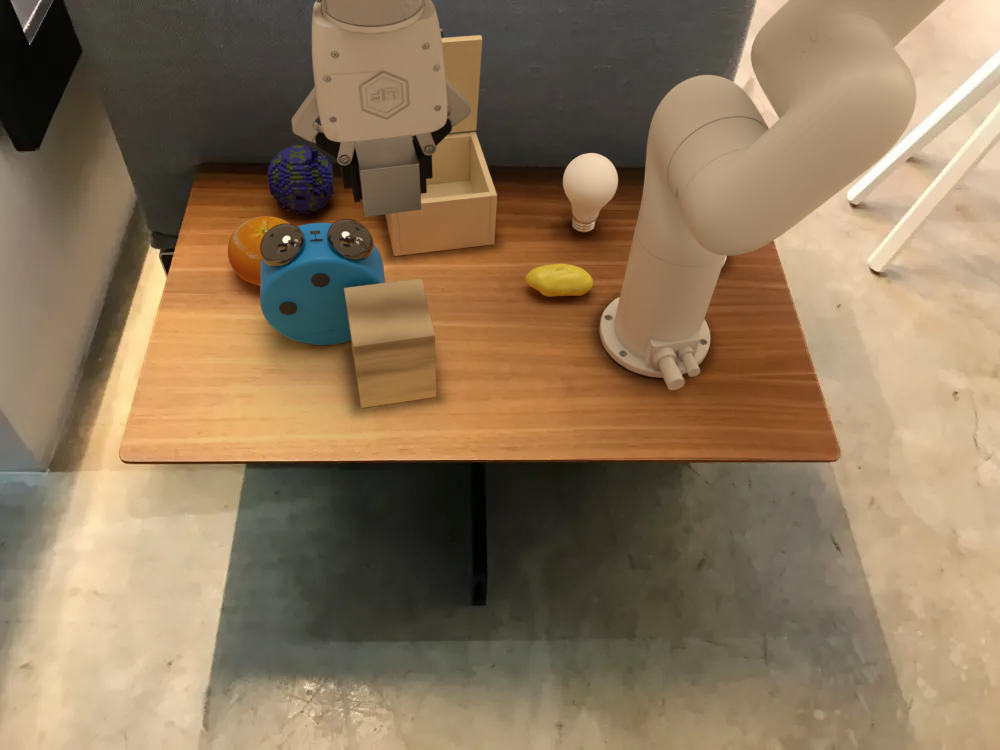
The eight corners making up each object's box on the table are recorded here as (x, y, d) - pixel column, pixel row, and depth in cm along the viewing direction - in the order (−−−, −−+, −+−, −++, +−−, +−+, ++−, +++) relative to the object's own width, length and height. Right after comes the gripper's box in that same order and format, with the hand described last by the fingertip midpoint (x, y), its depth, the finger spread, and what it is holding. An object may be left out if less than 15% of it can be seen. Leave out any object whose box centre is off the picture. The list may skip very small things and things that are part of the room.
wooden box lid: (482, 39, 96) (473, 11, 99) (370, 47, 94) (364, 19, 96) (476, 130, 107) (468, 103, 110) (376, 140, 105) (370, 112, 108)
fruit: (317, 274, 97) (278, 212, 93) (251, 309, 97) (210, 250, 94) (317, 253, 104) (281, 195, 101) (256, 286, 105) (218, 230, 101)
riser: (436, 397, 91) (435, 335, 83) (361, 408, 90) (352, 346, 82) (423, 341, 96) (421, 278, 88) (352, 351, 95) (343, 287, 87)
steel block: (421, 209, 75) (419, 163, 72) (365, 217, 75) (359, 170, 71) (411, 174, 78) (409, 128, 75) (357, 181, 78) (351, 134, 74)
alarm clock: (386, 303, 99) (377, 202, 88) (391, 343, 96) (382, 243, 84) (271, 313, 98) (247, 212, 86) (271, 354, 94) (246, 254, 82)
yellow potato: (590, 307, 101) (595, 283, 98) (523, 300, 101) (525, 276, 98) (591, 281, 103) (595, 258, 100) (525, 275, 103) (528, 251, 100)
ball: (277, 183, 112) (267, 134, 106) (336, 181, 113) (329, 133, 107) (273, 224, 107) (263, 175, 101) (335, 222, 108) (328, 173, 102)
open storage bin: (494, 244, 107) (497, 195, 100) (393, 256, 104) (390, 206, 98) (474, 180, 114) (475, 131, 108) (380, 190, 112) (376, 140, 106)
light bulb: (547, 233, 108) (555, 163, 100) (572, 205, 112) (582, 134, 103) (593, 254, 106) (606, 184, 98) (617, 225, 110) (631, 154, 101)
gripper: (254, 25, 58) (295, 228, 72) (498, 3, 61) (491, 202, 75) (248, -28, 62) (287, 173, 77) (475, -46, 65) (472, 151, 80)
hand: (388, 186), depth 76 cm, fingers closed on steel block, 5 cm apart
